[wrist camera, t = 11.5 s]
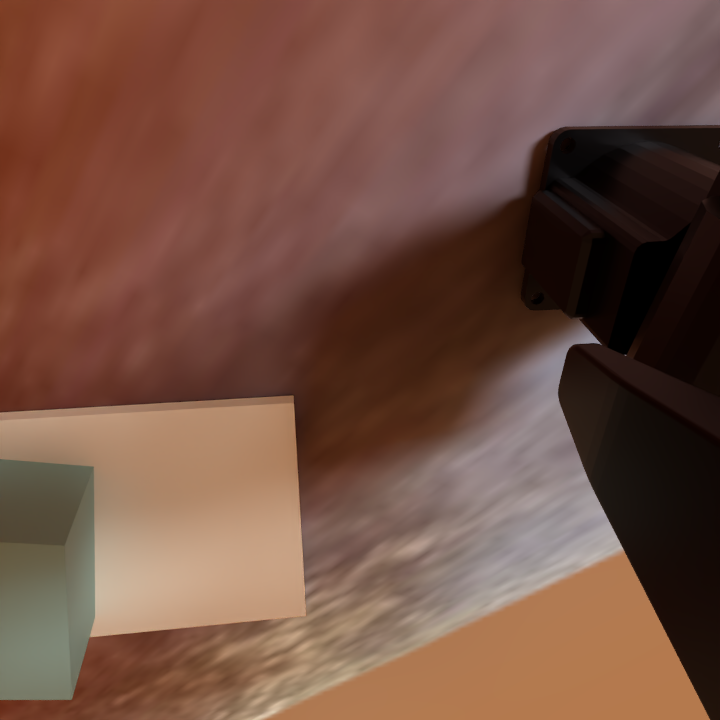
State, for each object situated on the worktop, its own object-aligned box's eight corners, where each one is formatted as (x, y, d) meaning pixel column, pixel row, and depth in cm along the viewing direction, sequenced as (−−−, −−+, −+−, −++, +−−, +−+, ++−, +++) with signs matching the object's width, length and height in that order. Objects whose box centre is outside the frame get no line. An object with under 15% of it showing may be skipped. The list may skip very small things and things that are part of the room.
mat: (293, 395, 24) (294, 402, 23) (305, 607, 31) (306, 615, 31) (-254, 427, 22) (-265, 436, 21) (-99, 646, 29) (-104, 656, 29)
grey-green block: (95, 616, 29) (71, 699, 26) (-29, 613, 28) (-71, 699, 24) (93, 466, 24) (64, 545, 21) (-59, 454, 23) (-116, 536, 19)
